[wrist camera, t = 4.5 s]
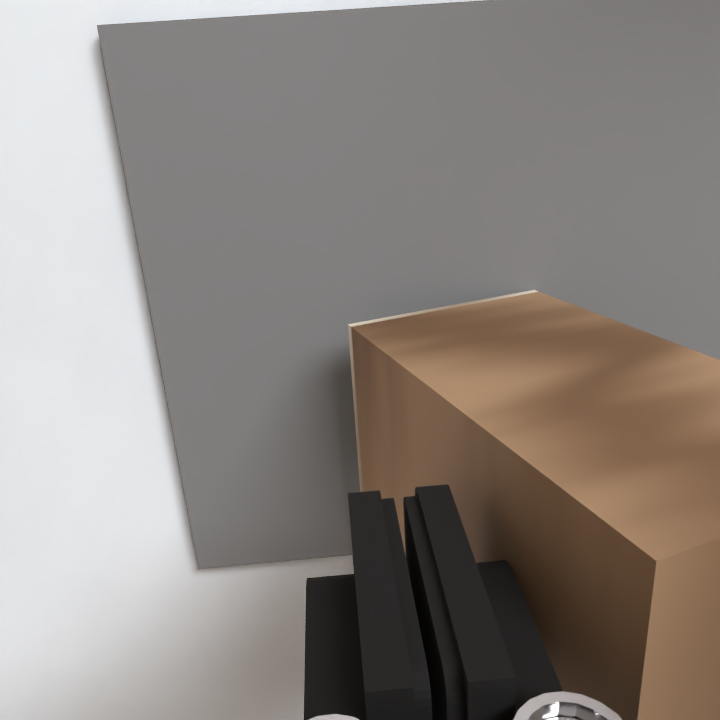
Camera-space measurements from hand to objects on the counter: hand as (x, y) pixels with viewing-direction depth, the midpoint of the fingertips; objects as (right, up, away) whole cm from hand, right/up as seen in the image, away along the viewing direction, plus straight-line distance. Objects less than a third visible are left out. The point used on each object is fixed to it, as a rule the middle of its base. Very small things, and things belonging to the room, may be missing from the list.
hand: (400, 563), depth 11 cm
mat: (+4, +5, +6) cm, 9 cm away
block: (+1, +2, +6) cm, 6 cm away
